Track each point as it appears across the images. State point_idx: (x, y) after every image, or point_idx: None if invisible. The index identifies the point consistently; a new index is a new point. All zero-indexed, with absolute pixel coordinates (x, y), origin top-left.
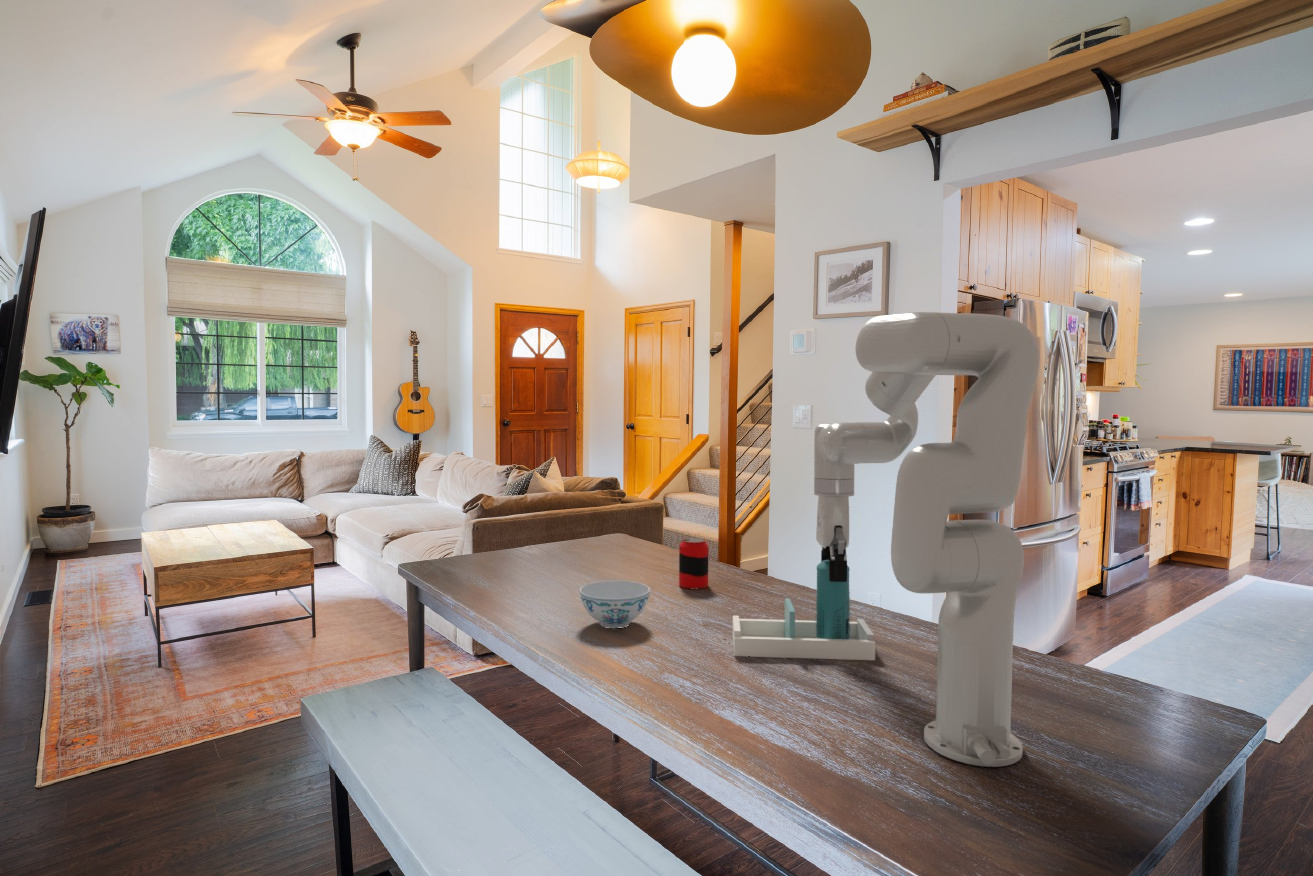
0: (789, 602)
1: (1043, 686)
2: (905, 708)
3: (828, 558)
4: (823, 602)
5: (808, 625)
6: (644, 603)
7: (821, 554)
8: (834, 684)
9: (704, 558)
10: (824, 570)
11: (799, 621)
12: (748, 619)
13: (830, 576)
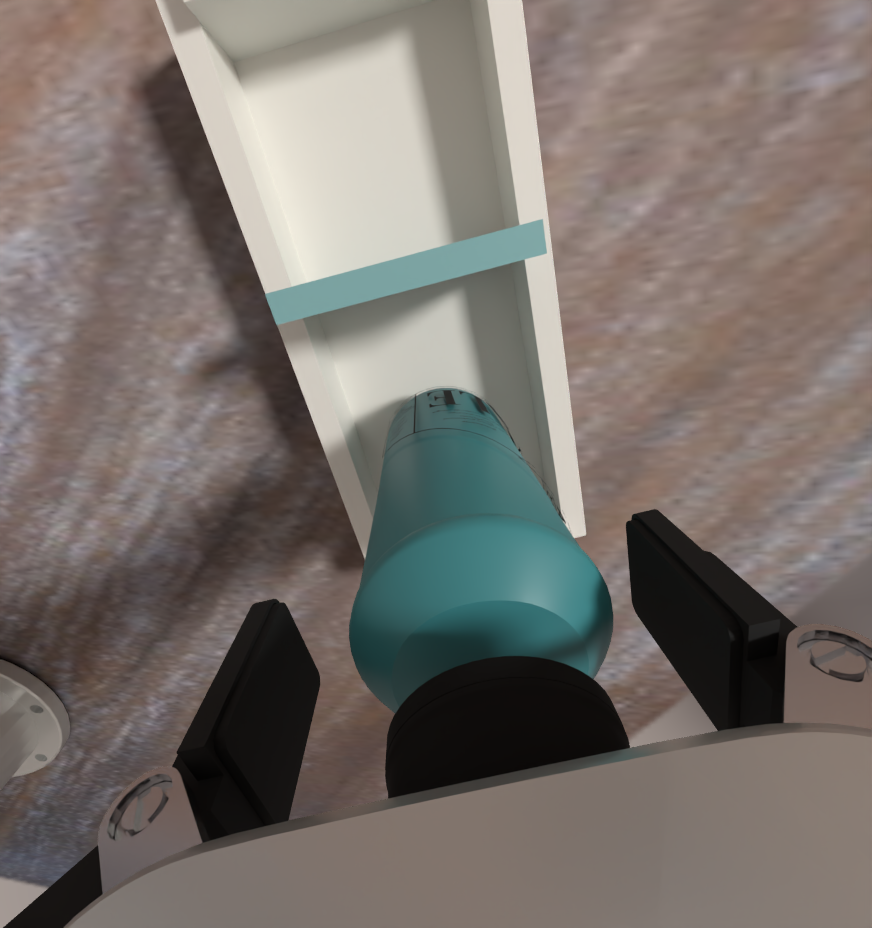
0: (455, 264)
1: (355, 805)
2: (85, 616)
3: (680, 622)
4: (386, 473)
5: (534, 346)
6: None
7: (725, 590)
8: (133, 462)
9: None
10: (358, 593)
11: (541, 307)
12: (511, 3)
13: (244, 630)
